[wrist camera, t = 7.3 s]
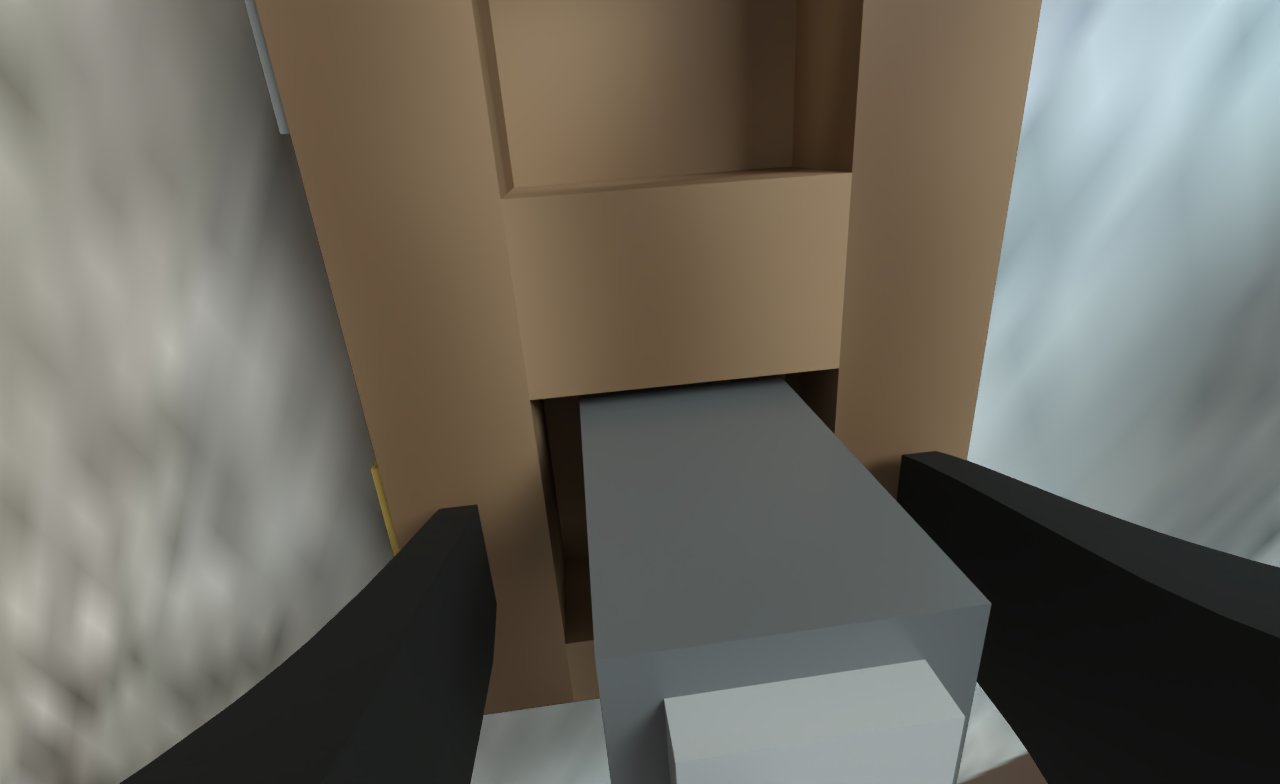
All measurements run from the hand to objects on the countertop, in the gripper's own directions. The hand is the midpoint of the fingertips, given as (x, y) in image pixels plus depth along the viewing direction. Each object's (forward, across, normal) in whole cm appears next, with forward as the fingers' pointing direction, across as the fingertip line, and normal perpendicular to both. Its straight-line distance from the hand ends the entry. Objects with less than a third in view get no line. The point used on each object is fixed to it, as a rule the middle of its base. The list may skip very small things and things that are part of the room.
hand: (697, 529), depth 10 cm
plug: (+3, 0, 0) cm, 3 cm away
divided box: (+3, 0, -4) cm, 5 cm away
